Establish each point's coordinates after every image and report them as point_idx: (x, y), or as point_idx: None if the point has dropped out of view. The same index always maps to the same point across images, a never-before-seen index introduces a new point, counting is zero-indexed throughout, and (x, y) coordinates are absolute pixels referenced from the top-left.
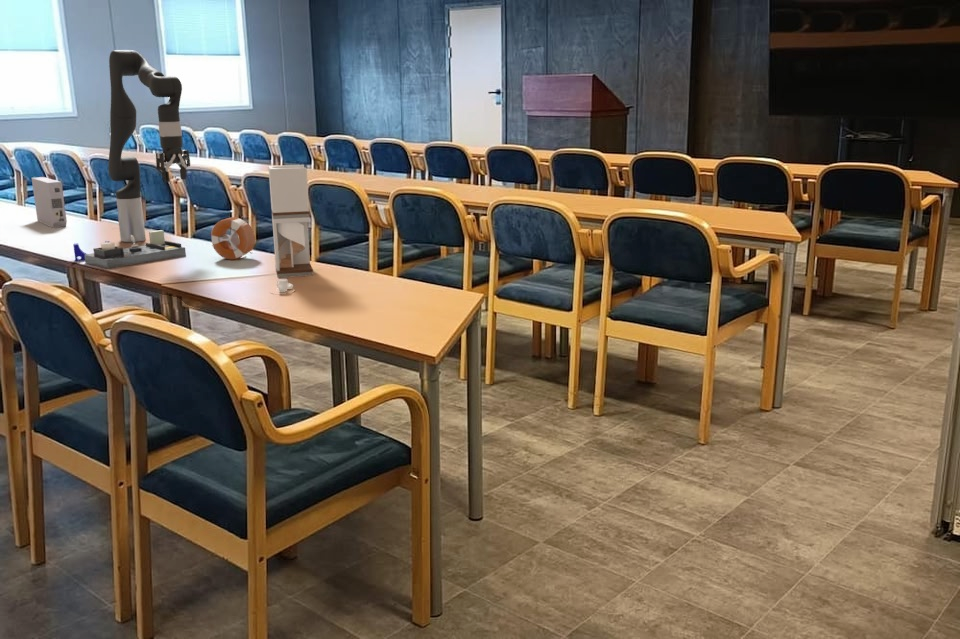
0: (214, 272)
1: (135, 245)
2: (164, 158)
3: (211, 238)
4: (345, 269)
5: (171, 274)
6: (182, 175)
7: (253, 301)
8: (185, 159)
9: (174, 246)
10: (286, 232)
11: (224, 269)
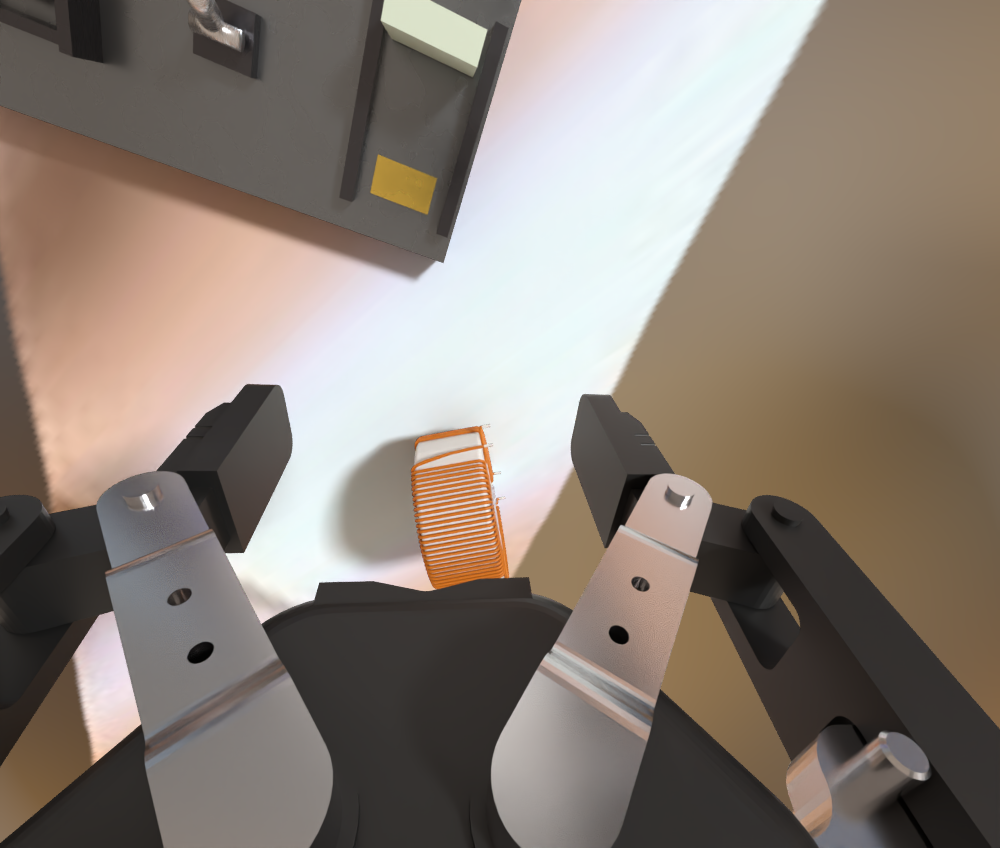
0: (267, 523)
1: (213, 38)
2: (98, 761)
3: (415, 457)
4: None
5: (155, 439)
6: (587, 447)
7: (125, 708)
8: (781, 666)
9: (444, 186)
10: None
11: (315, 522)
